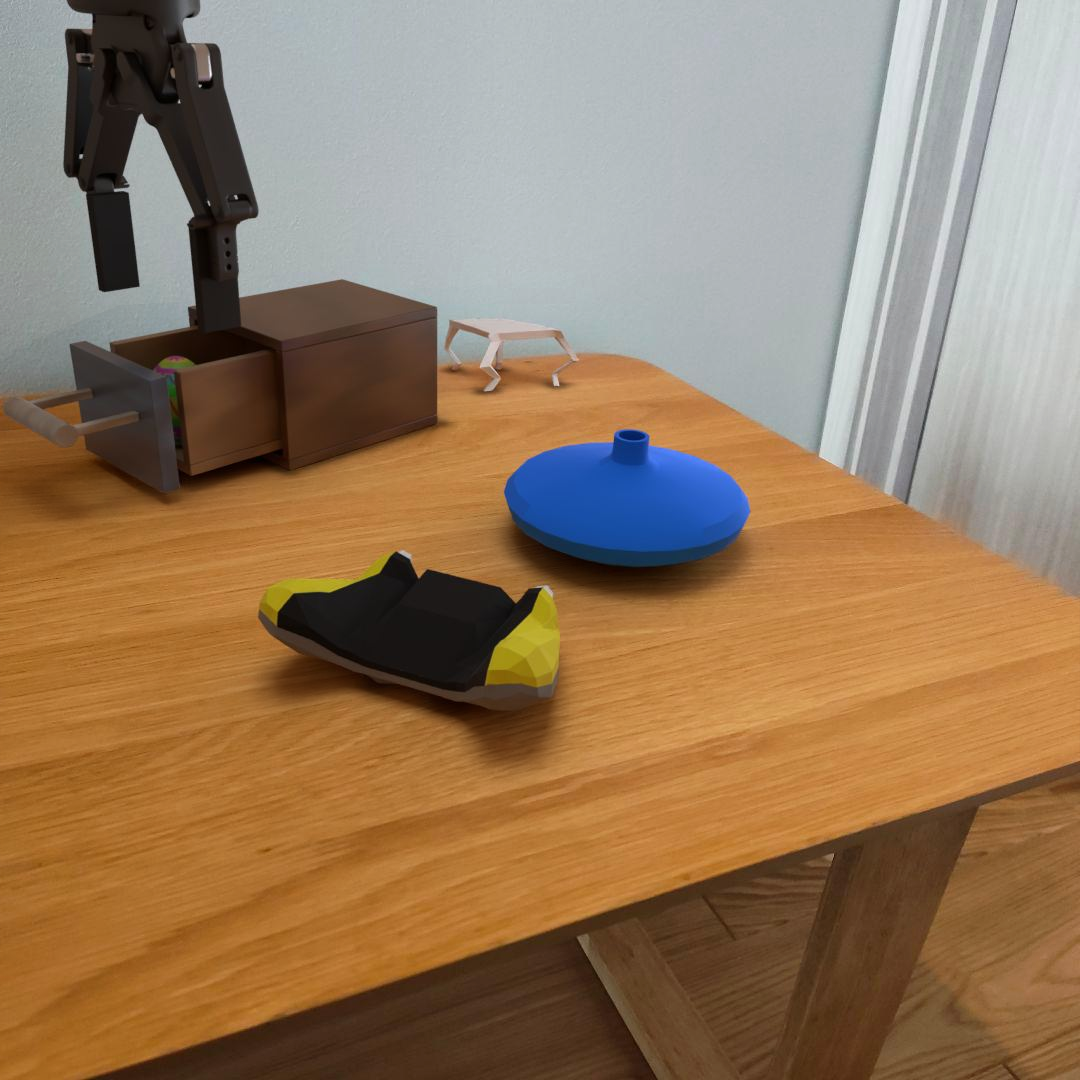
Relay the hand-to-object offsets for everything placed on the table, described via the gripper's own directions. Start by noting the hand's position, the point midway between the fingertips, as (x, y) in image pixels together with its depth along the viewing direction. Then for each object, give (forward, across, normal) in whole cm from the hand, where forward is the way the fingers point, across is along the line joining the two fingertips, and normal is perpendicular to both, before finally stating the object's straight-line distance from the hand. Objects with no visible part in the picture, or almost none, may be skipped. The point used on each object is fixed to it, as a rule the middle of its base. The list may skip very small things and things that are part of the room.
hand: (167, 307), depth 72 cm
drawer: (+10, 0, -1) cm, 11 cm away
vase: (+11, +29, +14) cm, 34 cm away
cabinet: (+11, 0, +12) cm, 17 cm away
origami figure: (+12, +2, +32) cm, 34 cm away
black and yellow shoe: (+11, +32, -6) cm, 35 cm away
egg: (+10, 0, 0) cm, 10 cm away
